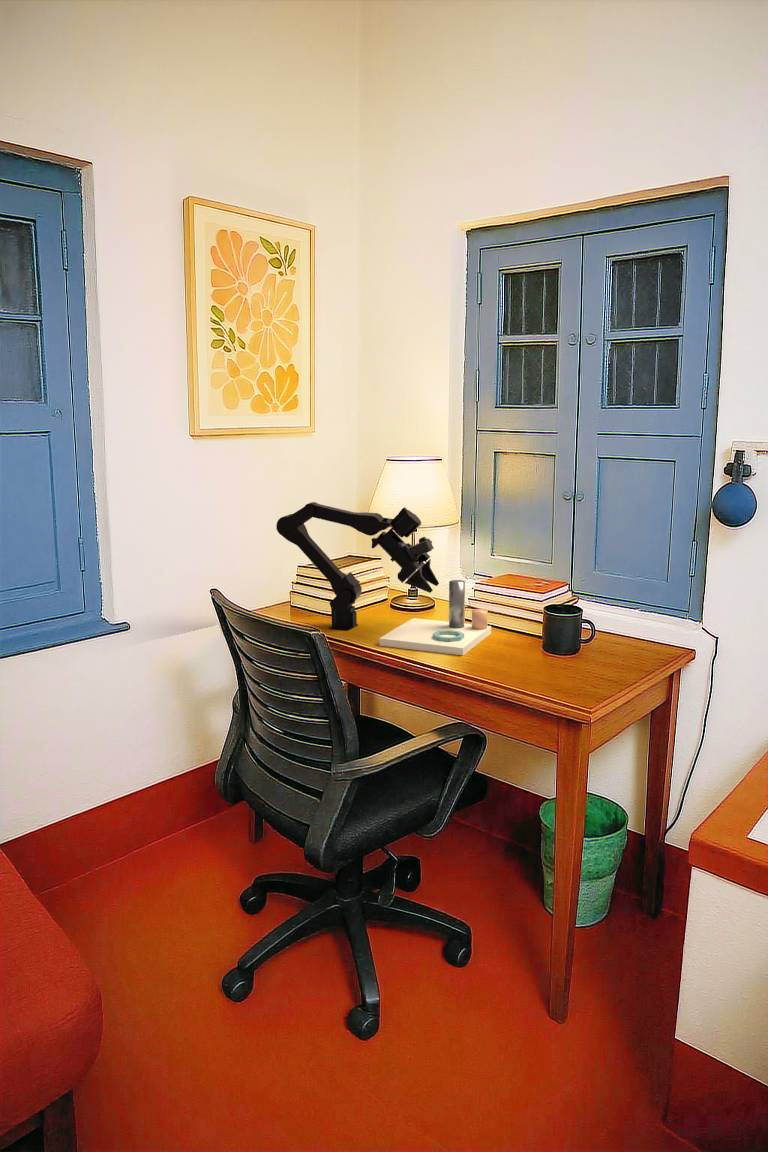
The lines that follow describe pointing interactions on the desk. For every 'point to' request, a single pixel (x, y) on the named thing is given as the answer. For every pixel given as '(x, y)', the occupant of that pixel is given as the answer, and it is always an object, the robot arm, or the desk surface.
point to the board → (434, 637)
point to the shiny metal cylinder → (456, 603)
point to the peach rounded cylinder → (479, 619)
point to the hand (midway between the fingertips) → (434, 588)
